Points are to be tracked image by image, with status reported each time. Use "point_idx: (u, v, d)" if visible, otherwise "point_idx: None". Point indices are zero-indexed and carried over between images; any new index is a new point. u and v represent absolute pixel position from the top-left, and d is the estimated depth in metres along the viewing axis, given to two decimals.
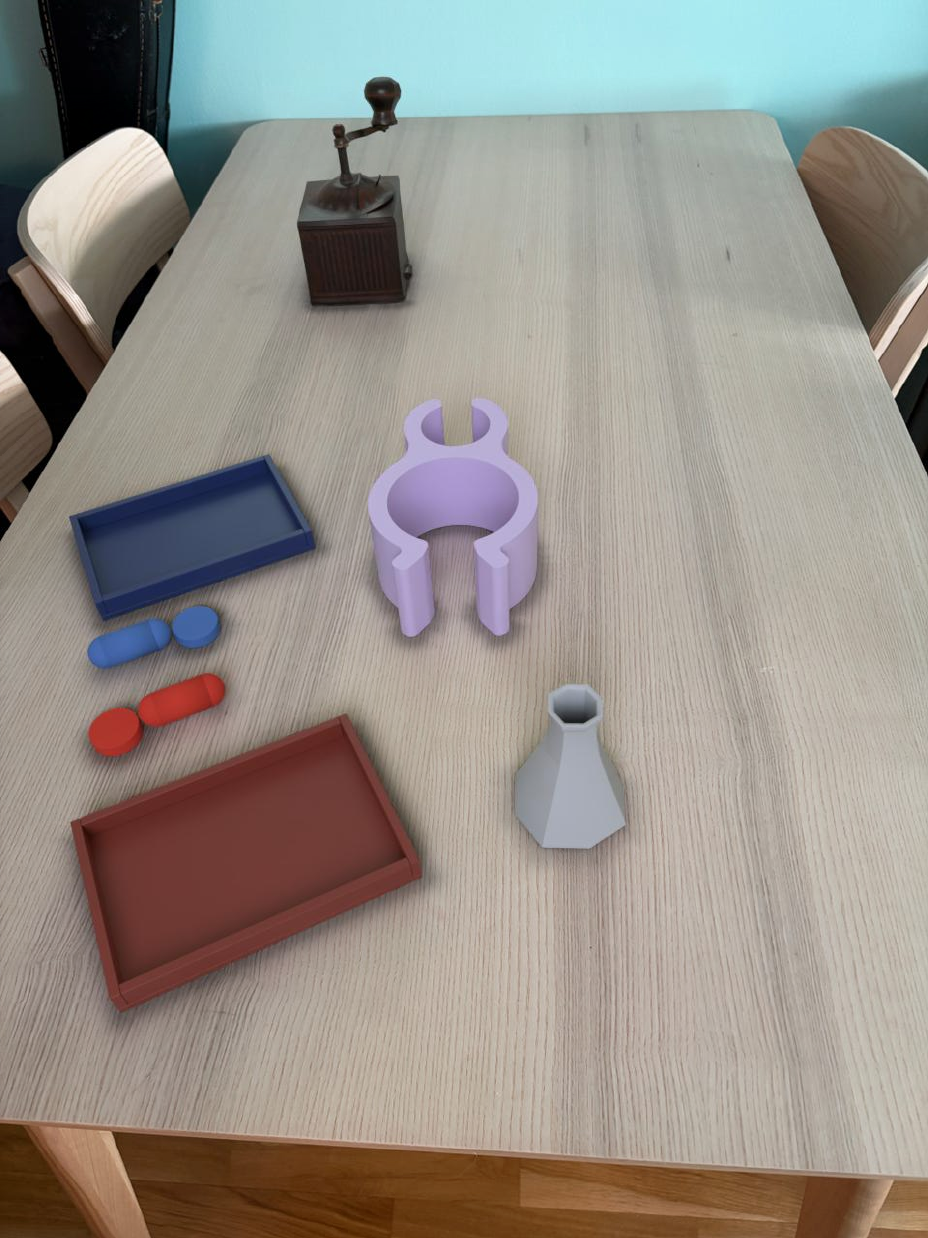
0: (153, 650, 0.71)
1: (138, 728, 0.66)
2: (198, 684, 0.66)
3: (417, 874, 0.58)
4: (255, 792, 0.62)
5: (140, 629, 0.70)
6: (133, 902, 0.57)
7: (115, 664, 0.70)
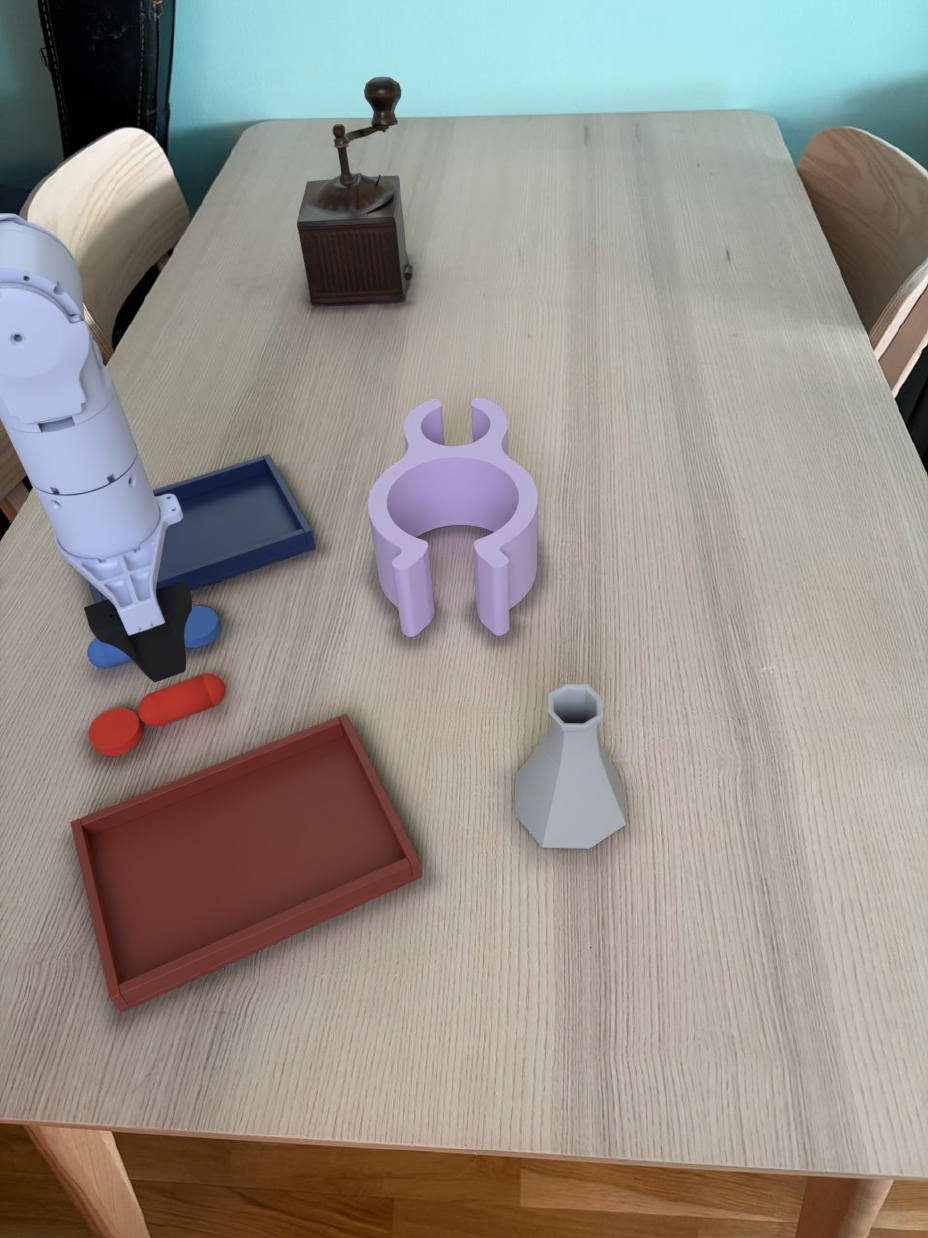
0: None
1: (138, 728, 0.66)
2: (198, 684, 0.66)
3: (417, 874, 0.58)
4: (255, 792, 0.62)
5: None
6: (133, 902, 0.57)
7: (115, 664, 0.70)
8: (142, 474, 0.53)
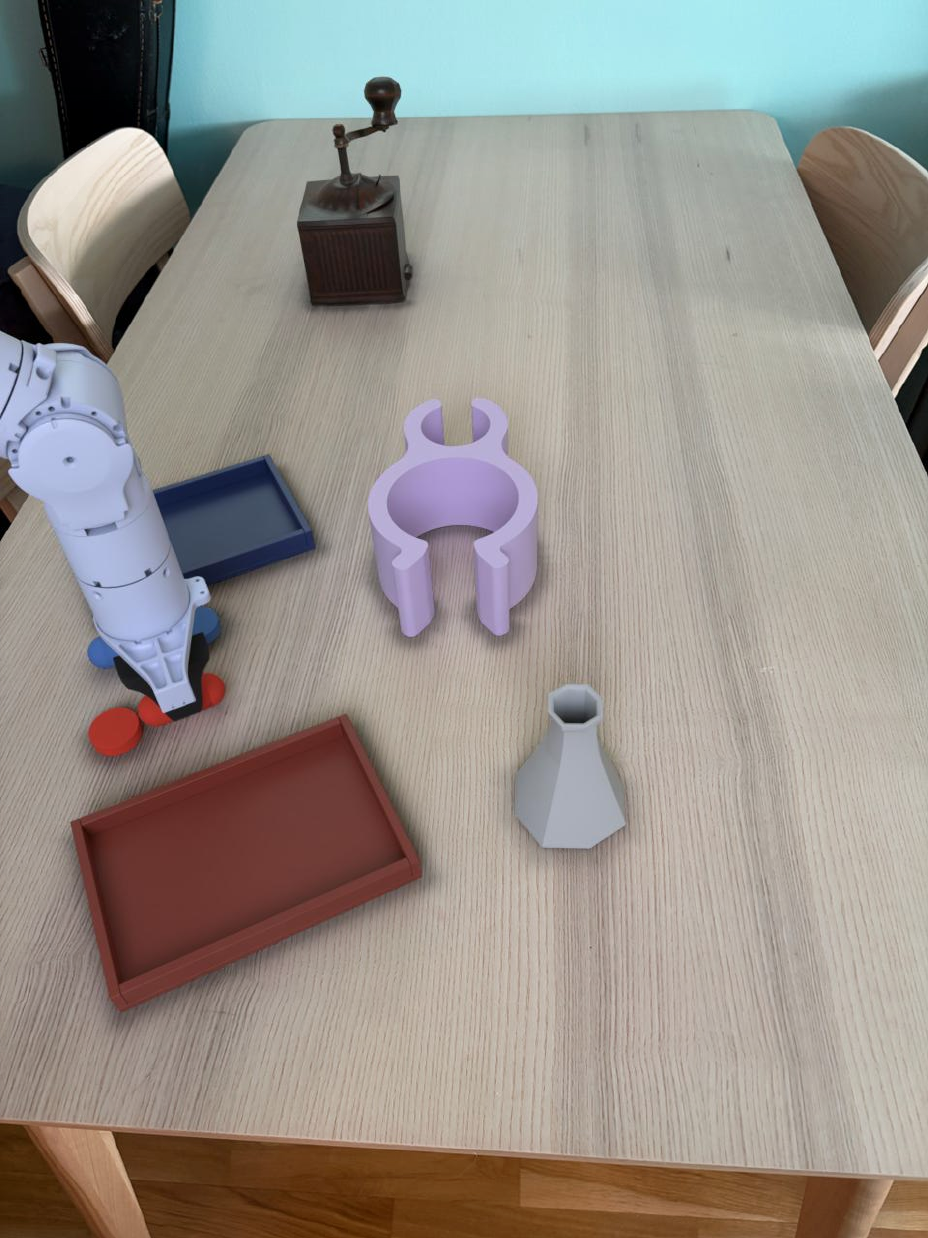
0: None
1: (138, 728, 0.66)
2: None
3: (417, 874, 0.58)
4: (255, 792, 0.62)
5: None
6: (133, 902, 0.57)
7: None
8: (175, 564, 0.58)
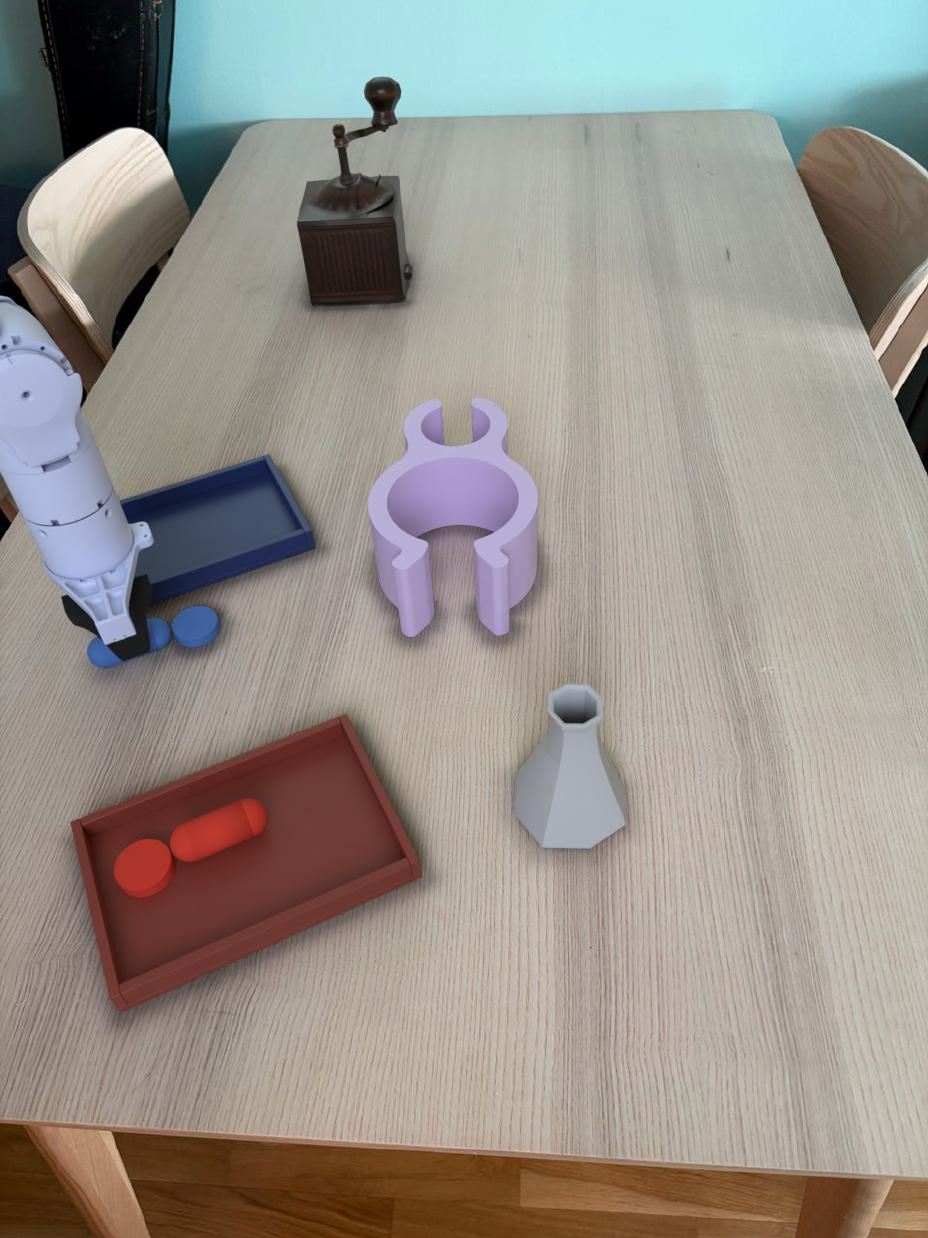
0: (153, 650, 0.71)
1: (170, 864, 0.58)
2: (238, 813, 0.59)
3: (417, 874, 0.58)
4: (255, 792, 0.62)
5: None
6: (133, 902, 0.57)
7: (115, 663, 0.70)
8: (117, 506, 0.61)
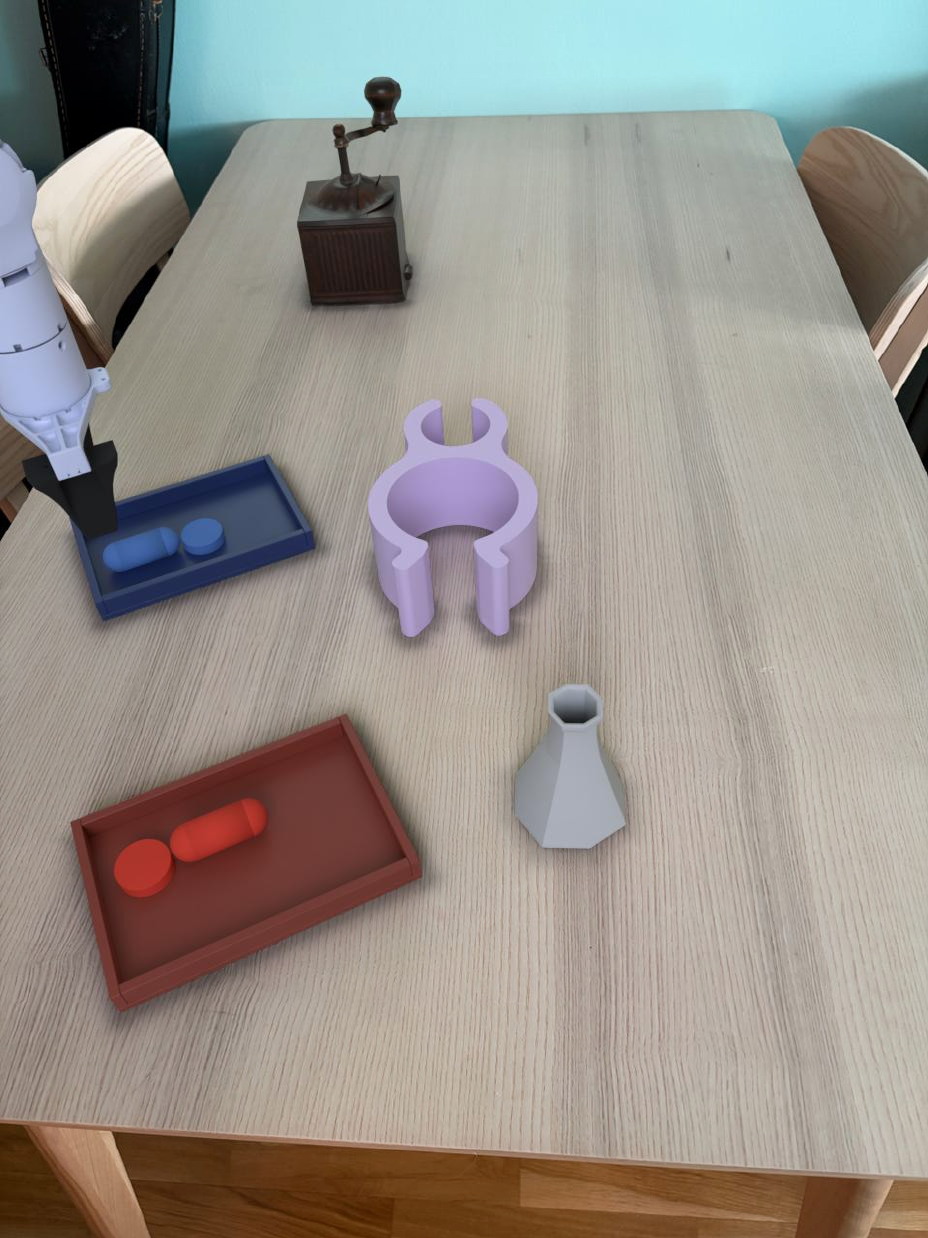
0: (163, 555, 0.77)
1: (170, 864, 0.58)
2: (238, 813, 0.59)
3: (417, 874, 0.58)
4: (255, 792, 0.62)
5: (151, 535, 0.76)
6: (133, 902, 0.57)
7: (128, 567, 0.76)
8: (72, 341, 0.60)
